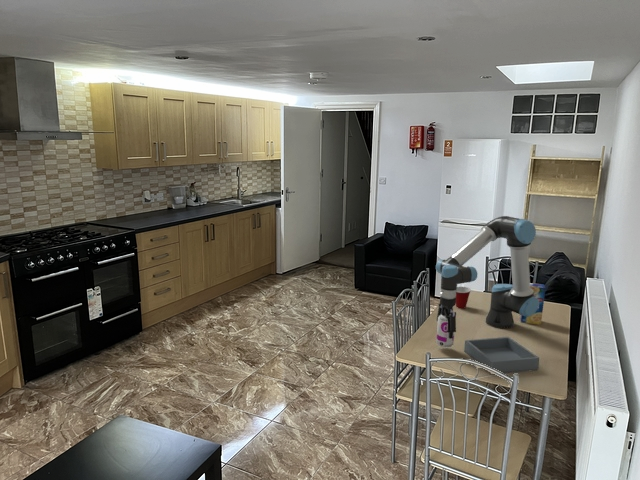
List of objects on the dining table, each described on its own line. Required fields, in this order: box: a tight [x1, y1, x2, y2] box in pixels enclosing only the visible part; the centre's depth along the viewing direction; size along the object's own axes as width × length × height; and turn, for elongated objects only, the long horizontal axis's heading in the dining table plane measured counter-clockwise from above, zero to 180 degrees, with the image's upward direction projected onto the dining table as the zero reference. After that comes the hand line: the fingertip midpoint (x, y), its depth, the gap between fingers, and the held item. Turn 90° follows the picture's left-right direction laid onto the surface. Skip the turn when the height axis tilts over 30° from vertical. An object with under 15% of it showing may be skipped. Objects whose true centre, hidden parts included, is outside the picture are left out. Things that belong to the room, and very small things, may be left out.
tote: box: [463, 336, 540, 374], centre depth 230 cm, size 24×24×6 cm
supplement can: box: [435, 314, 455, 348], centre depth 239 cm, size 8×8×15 cm
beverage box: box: [519, 282, 547, 325], centre depth 279 cm, size 7×11×22 cm, turn 72°
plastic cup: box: [455, 286, 472, 309], centre depth 301 cm, size 11×11×12 cm
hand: (445, 340), depth 240 cm, fingers closed on supplement can, 8 cm apart
